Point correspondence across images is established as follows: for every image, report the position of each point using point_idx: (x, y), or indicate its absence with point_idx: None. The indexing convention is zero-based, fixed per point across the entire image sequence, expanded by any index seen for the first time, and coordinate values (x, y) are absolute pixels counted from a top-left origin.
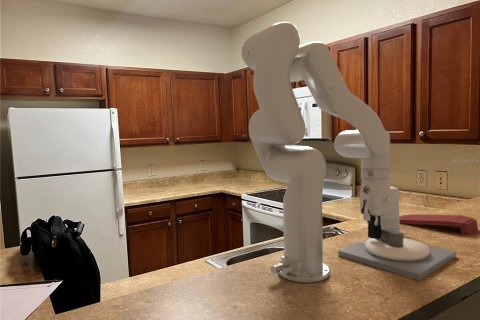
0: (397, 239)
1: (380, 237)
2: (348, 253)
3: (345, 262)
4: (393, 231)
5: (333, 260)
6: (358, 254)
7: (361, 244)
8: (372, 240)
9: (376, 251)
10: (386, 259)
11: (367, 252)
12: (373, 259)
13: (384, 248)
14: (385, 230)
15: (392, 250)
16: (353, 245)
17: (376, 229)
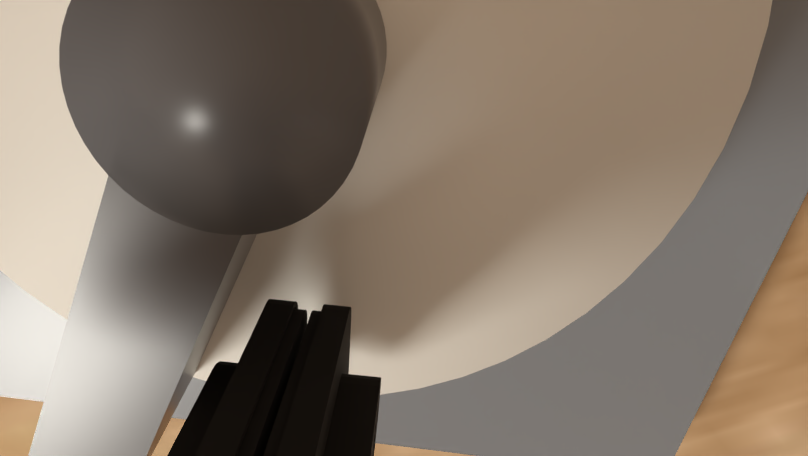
0: (355, 7)
1: (287, 302)
2: (702, 396)
3: (788, 344)
4: (130, 191)
5: (780, 426)
6: (687, 320)
7: None
8: None
9: (700, 177)
10: None
11: None
12: (789, 143)
13: (538, 132)
14: (185, 322)
15: (562, 3)
16: (435, 439)
17: (328, 436)
